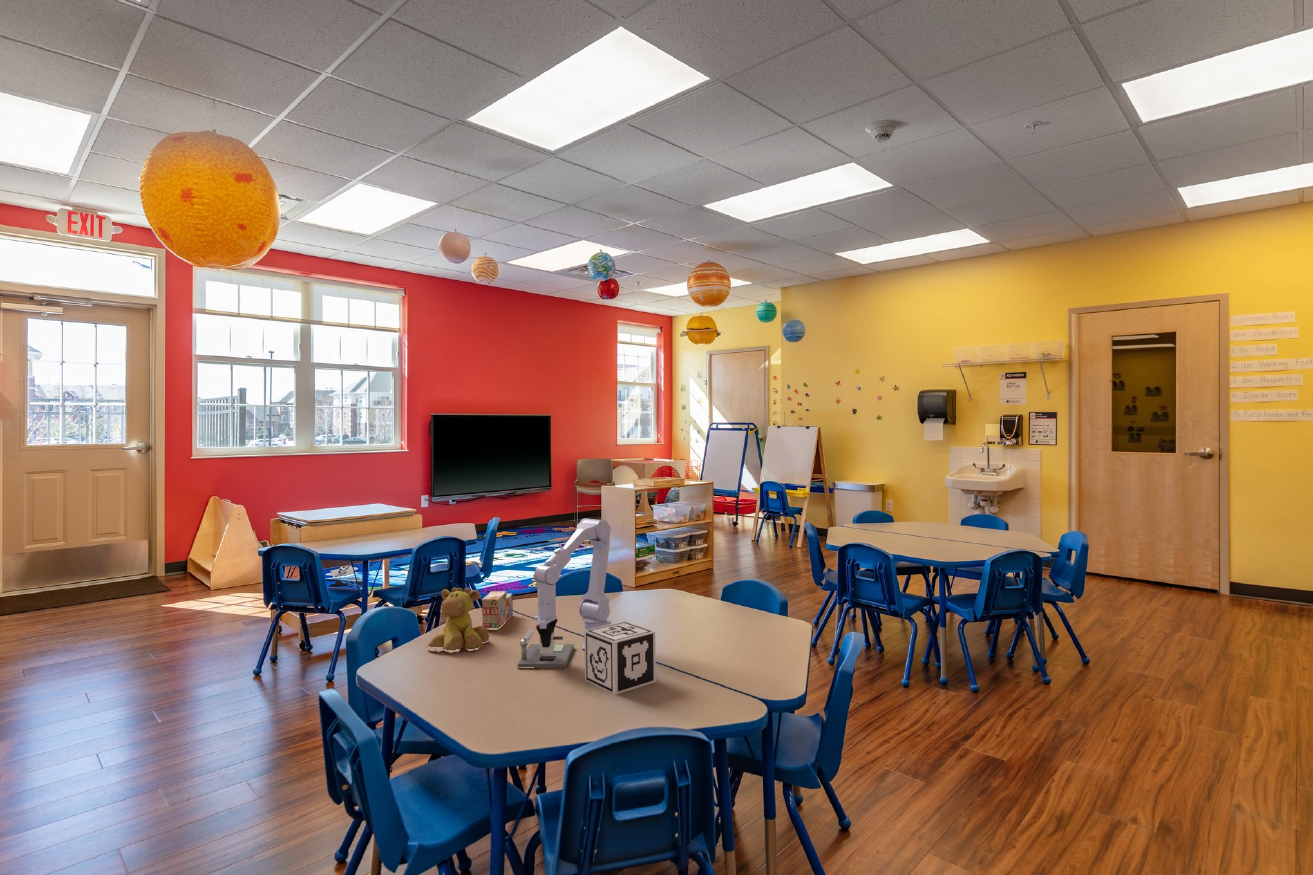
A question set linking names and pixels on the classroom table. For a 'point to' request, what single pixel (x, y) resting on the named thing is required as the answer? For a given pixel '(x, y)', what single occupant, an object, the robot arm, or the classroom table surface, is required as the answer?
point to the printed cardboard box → (496, 608)
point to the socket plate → (546, 656)
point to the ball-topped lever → (527, 637)
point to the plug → (552, 644)
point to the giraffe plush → (459, 622)
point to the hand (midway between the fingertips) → (547, 644)
